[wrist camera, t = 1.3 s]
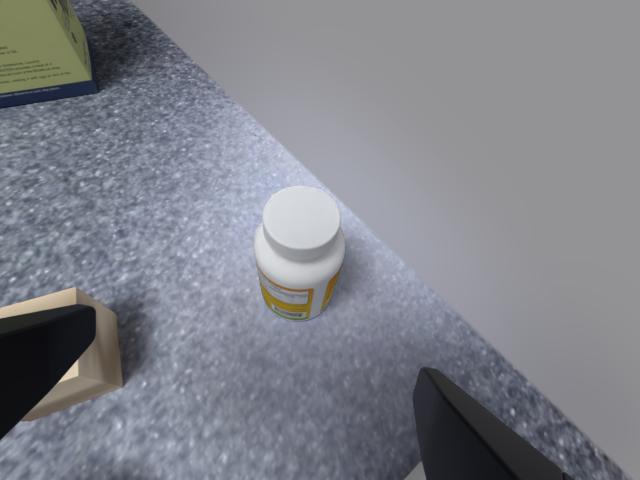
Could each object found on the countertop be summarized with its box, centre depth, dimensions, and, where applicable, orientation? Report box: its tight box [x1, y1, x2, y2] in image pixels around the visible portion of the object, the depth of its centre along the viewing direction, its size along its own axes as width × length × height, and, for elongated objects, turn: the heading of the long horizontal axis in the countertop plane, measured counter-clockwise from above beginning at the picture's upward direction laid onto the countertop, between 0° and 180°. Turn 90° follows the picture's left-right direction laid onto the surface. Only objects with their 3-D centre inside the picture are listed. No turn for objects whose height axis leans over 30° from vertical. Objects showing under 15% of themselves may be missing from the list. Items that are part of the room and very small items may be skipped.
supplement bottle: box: [253, 186, 345, 322], centre depth 20 cm, size 5×5×10 cm
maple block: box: [0, 287, 123, 421], centre depth 18 cm, size 5×5×5 cm
